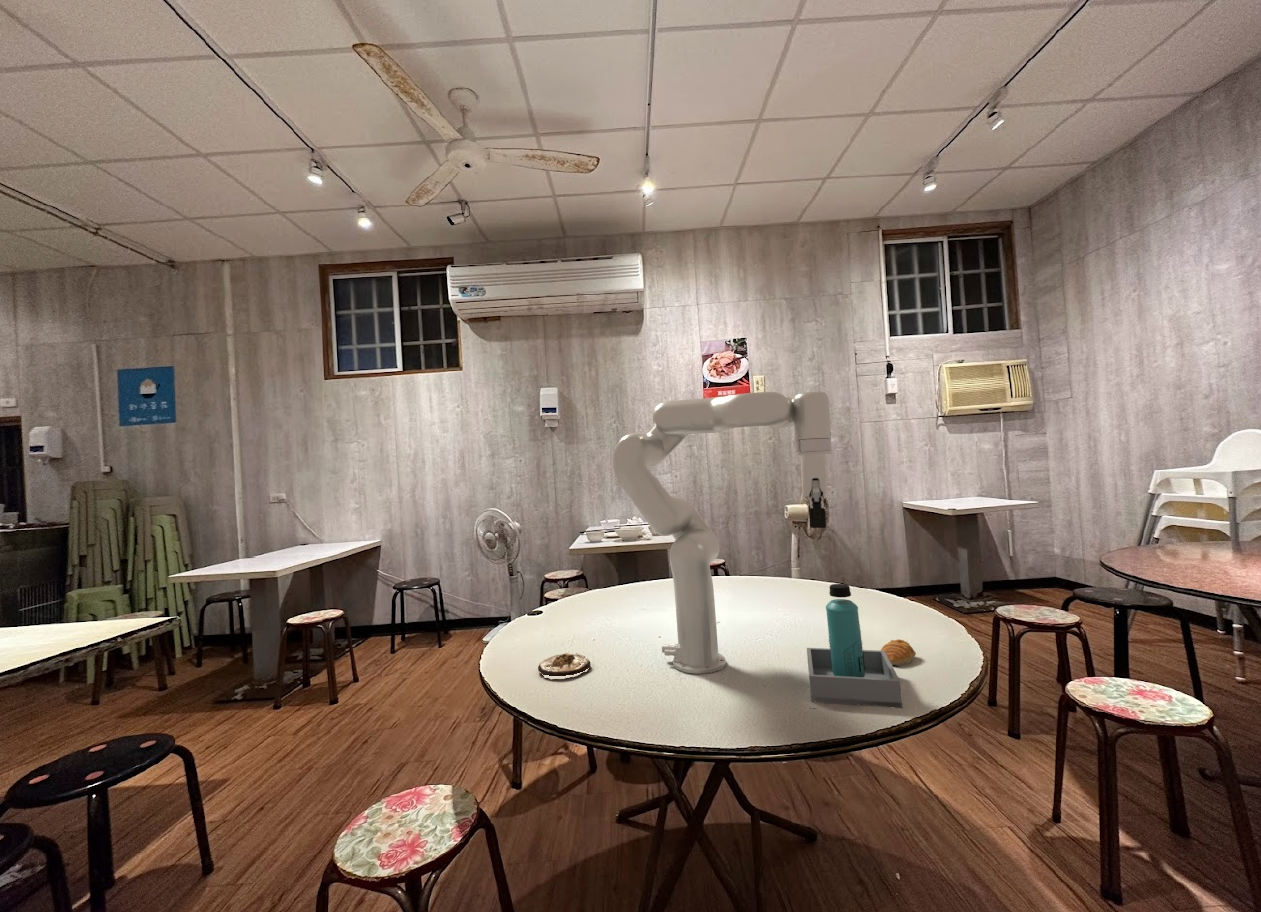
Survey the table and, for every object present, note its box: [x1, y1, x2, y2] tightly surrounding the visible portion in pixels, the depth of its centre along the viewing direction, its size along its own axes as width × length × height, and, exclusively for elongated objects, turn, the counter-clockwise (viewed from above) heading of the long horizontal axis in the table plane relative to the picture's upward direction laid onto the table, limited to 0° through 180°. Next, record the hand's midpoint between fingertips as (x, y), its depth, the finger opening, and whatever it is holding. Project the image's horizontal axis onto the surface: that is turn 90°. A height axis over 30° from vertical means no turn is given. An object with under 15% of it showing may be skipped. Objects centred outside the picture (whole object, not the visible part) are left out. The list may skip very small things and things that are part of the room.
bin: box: [806, 647, 903, 709], centre depth 102 cm, size 16×16×5 cm
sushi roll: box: [537, 651, 591, 676], centre depth 122 cm, size 15×15×4 cm
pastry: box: [880, 639, 917, 667], centre depth 115 cm, size 9×7×4 cm
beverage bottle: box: [825, 583, 866, 677], centre depth 103 cm, size 6×7×20 cm
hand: (817, 525), depth 109 cm, fingers open, 9 cm apart
